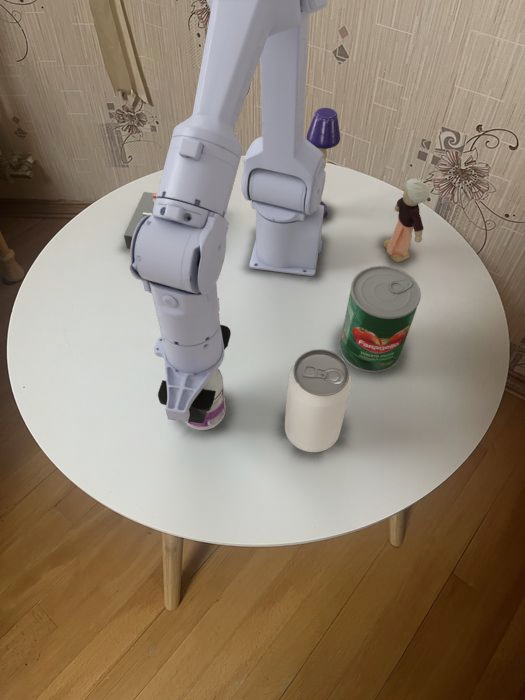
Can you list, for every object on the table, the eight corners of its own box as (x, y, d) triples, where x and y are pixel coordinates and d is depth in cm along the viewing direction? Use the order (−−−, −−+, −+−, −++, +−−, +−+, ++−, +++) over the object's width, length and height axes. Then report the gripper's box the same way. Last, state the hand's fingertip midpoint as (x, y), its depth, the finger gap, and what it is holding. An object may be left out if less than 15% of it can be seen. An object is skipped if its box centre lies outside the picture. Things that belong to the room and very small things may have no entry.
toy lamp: (300, 201, 90) (308, 102, 76) (330, 202, 90) (343, 103, 76) (300, 221, 87) (308, 122, 74) (330, 222, 87) (344, 124, 74)
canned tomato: (359, 381, 70) (374, 326, 61) (328, 335, 74) (338, 277, 65) (412, 359, 72) (435, 303, 63) (379, 316, 76) (396, 257, 67)
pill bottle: (181, 394, 69) (171, 347, 61) (224, 391, 69) (220, 344, 61) (181, 433, 66) (170, 389, 58) (226, 430, 66) (222, 386, 58)
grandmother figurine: (372, 241, 85) (388, 169, 74) (393, 233, 86) (412, 161, 75) (402, 274, 81) (423, 204, 70) (424, 266, 82) (447, 195, 71)
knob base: (214, 212, 88) (213, 199, 86) (199, 257, 82) (197, 244, 80) (146, 204, 89) (143, 190, 87) (126, 248, 83) (123, 234, 81)
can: (336, 458, 64) (350, 404, 54) (279, 448, 65) (283, 392, 55) (342, 410, 68) (357, 351, 58) (289, 400, 68) (294, 340, 59)
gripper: (168, 262, 58) (183, 341, 69) (125, 379, 50) (149, 448, 61) (236, 271, 57) (239, 349, 68) (203, 391, 49) (213, 458, 60)
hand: (201, 396), depth 65 cm, fingers closed on pill bottle, 5 cm apart
